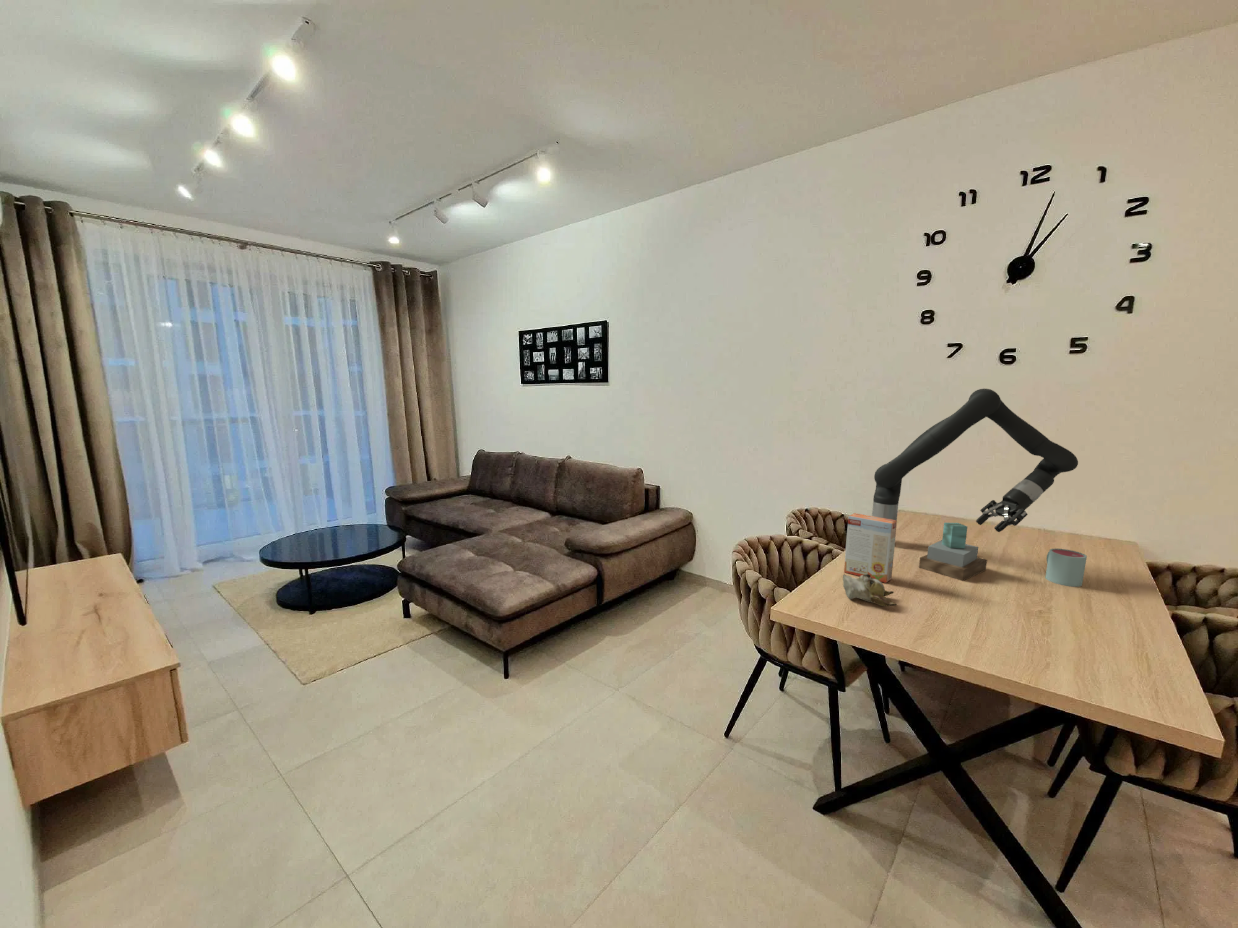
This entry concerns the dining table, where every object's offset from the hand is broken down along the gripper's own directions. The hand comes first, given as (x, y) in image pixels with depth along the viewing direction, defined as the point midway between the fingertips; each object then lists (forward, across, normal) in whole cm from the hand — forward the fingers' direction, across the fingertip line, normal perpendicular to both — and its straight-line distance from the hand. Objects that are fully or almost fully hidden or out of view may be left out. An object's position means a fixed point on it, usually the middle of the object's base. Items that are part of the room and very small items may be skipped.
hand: (987, 526), depth 173 cm
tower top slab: (+16, 0, 0) cm, 16 cm away
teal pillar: (+13, 0, -3) cm, 13 cm away
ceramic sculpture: (+51, +25, -28) cm, 63 cm away
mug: (-3, +9, +25) cm, 27 cm away
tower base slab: (+19, 0, +4) cm, 20 cm away
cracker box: (+43, +6, -21) cm, 48 cm away
